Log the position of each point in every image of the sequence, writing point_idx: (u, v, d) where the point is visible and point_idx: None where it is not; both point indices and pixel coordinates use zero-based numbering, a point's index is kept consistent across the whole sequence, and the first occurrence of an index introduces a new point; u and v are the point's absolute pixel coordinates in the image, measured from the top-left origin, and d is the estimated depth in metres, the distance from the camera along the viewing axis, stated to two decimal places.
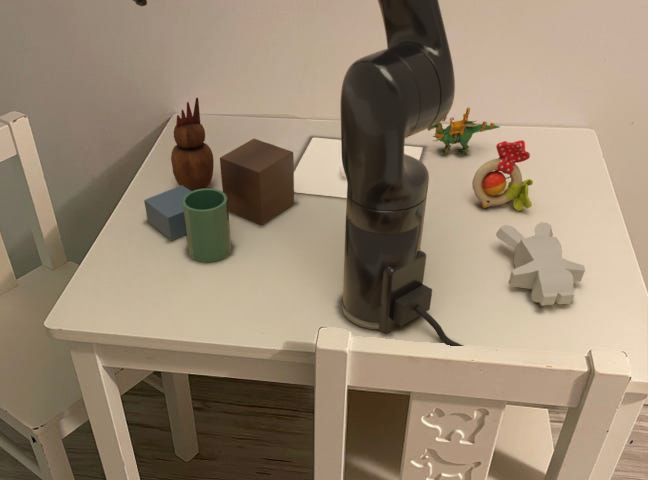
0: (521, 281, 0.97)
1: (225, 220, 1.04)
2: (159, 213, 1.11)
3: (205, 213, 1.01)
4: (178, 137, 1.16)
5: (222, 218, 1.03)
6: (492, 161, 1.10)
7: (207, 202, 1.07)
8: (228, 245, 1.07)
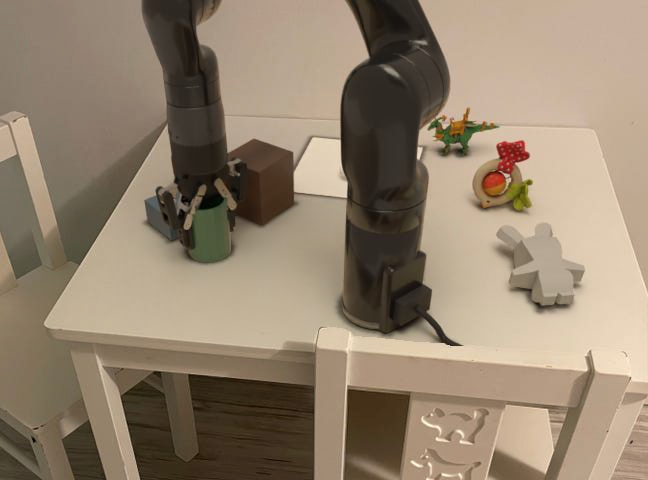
0: (521, 281, 0.97)
1: (225, 220, 1.04)
2: (159, 213, 1.11)
3: (205, 213, 1.01)
4: None
5: (222, 218, 1.03)
6: (492, 161, 1.10)
7: (207, 202, 1.07)
8: (228, 245, 1.07)
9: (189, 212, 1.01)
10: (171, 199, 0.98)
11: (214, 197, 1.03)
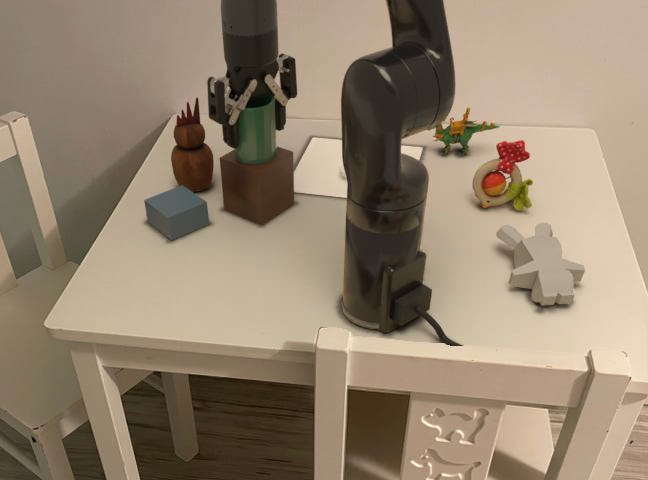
0: (521, 281, 0.97)
1: (273, 120, 1.07)
2: (159, 213, 1.11)
3: (255, 111, 1.04)
4: (178, 137, 1.16)
5: (271, 118, 1.06)
6: (492, 161, 1.10)
7: (254, 105, 1.09)
8: (275, 148, 1.09)
9: (237, 106, 1.03)
10: (222, 89, 1.00)
11: (263, 95, 1.05)
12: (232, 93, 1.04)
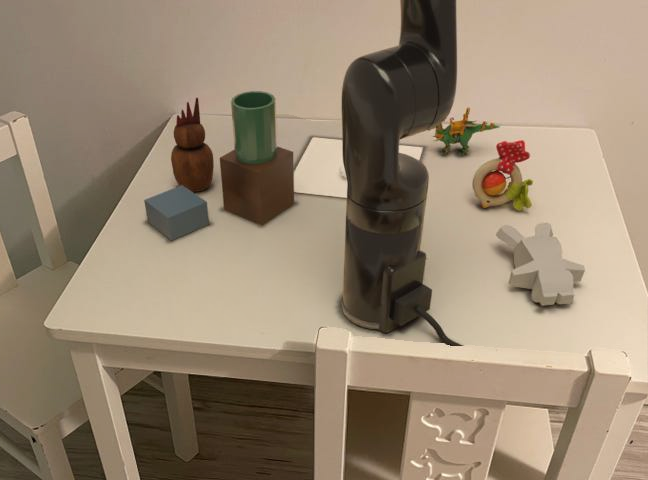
0: (521, 281, 0.97)
1: (273, 120, 1.07)
2: (159, 213, 1.11)
3: (255, 111, 1.04)
4: (178, 137, 1.16)
5: (271, 118, 1.06)
6: (492, 161, 1.10)
7: (254, 105, 1.09)
8: (275, 148, 1.09)
9: None
10: None
11: None
12: None
